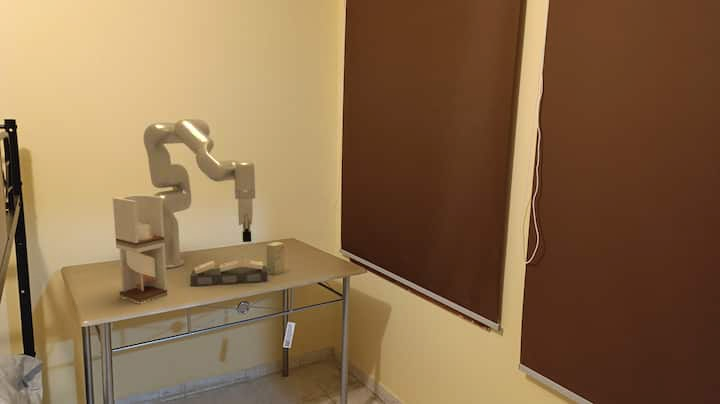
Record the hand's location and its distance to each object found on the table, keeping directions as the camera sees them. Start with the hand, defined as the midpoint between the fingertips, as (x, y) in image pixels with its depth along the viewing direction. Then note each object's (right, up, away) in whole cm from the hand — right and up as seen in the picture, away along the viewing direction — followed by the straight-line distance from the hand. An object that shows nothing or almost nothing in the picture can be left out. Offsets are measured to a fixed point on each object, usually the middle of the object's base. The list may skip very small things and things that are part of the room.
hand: (247, 241), depth 183 cm
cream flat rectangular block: (-7, -9, 0) cm, 12 cm away
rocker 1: (-16, -10, -2) cm, 18 cm away
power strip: (-7, -15, +1) cm, 17 cm away
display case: (-32, -18, -16) cm, 41 cm away
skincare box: (+9, -14, +12) cm, 21 cm away
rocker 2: (+2, -9, +2) cm, 10 cm away
